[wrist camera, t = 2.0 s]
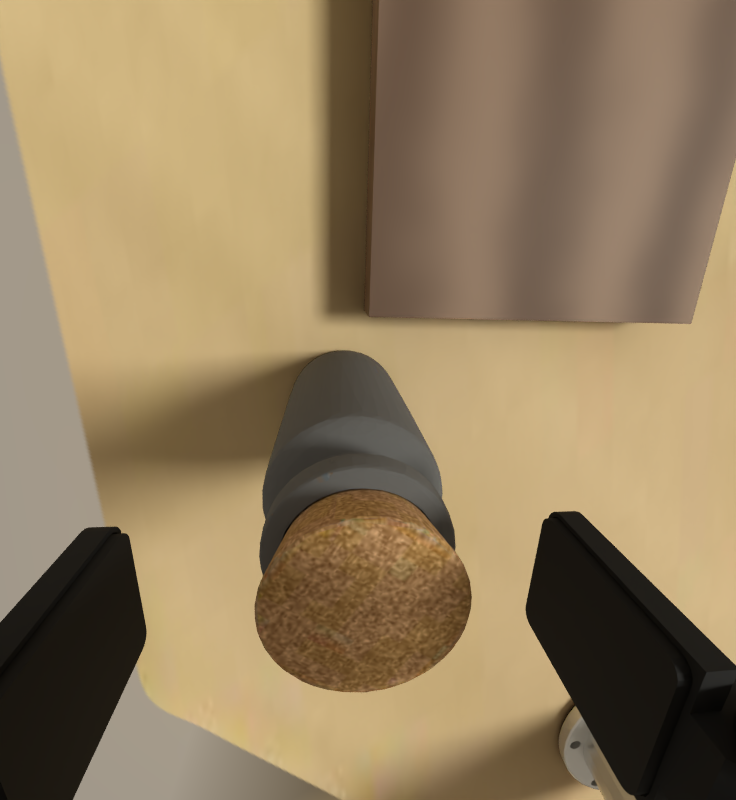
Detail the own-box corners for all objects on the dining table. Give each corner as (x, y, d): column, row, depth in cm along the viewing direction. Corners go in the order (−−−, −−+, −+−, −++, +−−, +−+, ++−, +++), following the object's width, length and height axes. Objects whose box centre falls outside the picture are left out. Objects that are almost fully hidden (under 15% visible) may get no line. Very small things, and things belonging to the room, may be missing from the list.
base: (732, -48, 18) (807, -107, 15) (646, 317, 23) (691, 324, 20) (375, -89, 17) (384, -162, 14) (364, 310, 21) (369, 316, 19)
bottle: (414, 410, 23) (544, 626, 9) (333, 466, 24) (336, 749, 10) (355, 327, 22) (403, 437, 8) (269, 390, 22) (162, 601, 8)
